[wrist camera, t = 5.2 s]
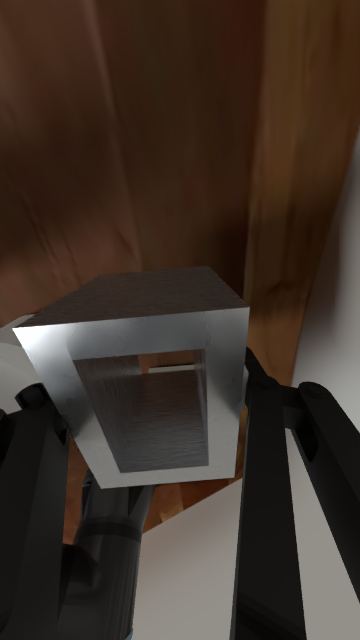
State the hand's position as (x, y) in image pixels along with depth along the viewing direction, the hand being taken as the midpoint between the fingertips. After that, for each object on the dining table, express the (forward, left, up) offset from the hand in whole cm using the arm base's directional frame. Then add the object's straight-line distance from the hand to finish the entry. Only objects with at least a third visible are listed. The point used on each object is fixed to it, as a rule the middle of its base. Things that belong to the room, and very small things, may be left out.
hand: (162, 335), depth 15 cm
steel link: (0, 0, 0) cm, 0 cm away
